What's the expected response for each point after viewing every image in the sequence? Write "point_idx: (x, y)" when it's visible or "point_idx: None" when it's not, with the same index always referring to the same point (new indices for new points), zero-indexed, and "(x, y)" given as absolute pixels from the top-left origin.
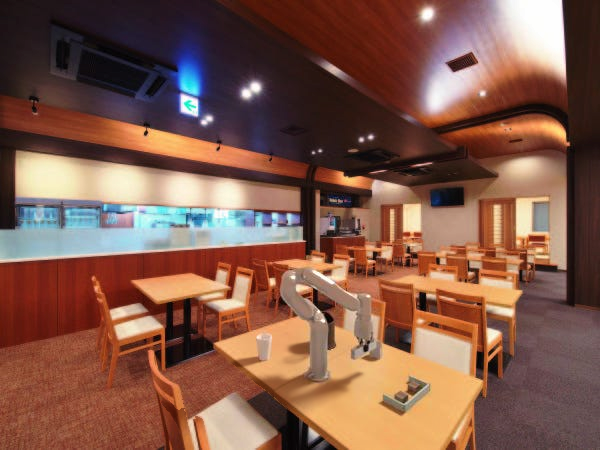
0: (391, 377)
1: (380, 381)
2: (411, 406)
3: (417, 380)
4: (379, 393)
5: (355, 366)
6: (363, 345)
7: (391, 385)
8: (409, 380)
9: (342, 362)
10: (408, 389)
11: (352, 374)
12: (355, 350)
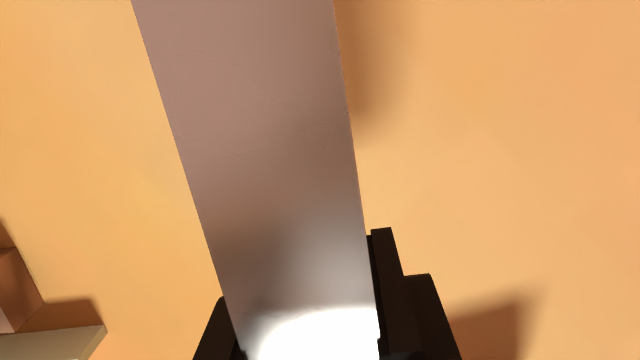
0: (185, 276)
1: (173, 172)
2: None
3: (22, 357)
4: (24, 29)
5: (467, 165)
6: (246, 337)
7: (97, 200)
8: (92, 332)
9: (612, 108)
10: (3, 252)
11: (383, 34)
12: None
